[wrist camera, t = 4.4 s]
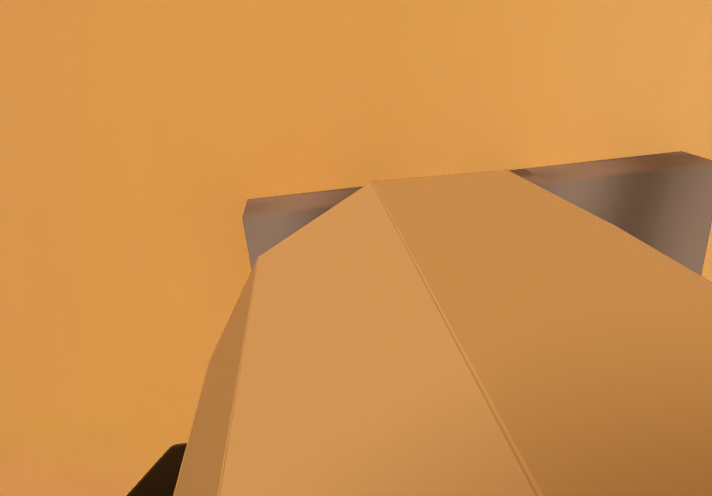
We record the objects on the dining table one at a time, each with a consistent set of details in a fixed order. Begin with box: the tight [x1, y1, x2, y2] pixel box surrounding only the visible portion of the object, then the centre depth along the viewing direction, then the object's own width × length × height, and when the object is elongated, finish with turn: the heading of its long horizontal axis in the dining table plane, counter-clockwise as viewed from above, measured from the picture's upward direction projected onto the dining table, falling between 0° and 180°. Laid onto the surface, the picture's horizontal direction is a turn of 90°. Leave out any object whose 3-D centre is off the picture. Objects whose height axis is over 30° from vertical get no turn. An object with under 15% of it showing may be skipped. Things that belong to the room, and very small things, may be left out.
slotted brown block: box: [242, 151, 712, 276], centre depth 17 cm, size 16×14×8 cm
